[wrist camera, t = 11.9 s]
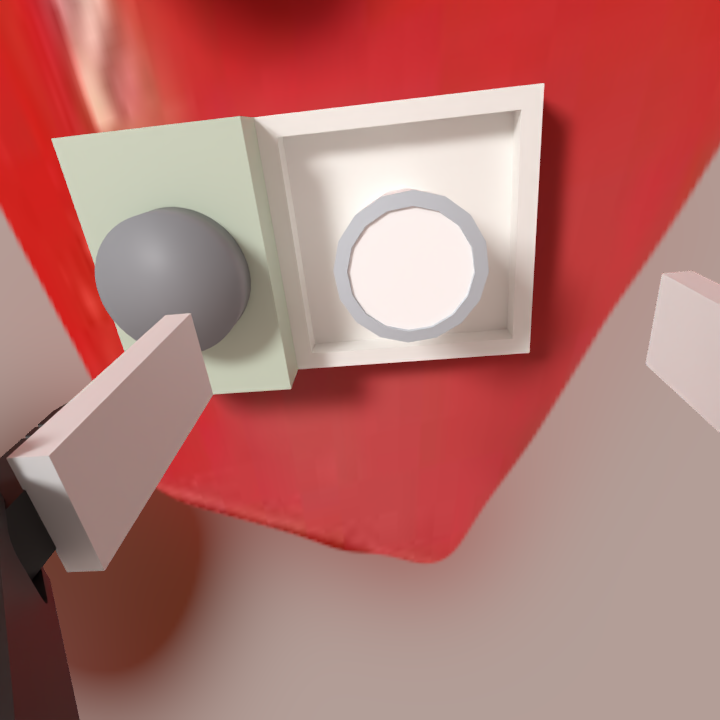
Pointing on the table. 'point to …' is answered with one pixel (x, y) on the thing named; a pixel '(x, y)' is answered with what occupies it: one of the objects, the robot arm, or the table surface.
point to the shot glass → (411, 265)
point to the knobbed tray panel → (302, 225)
